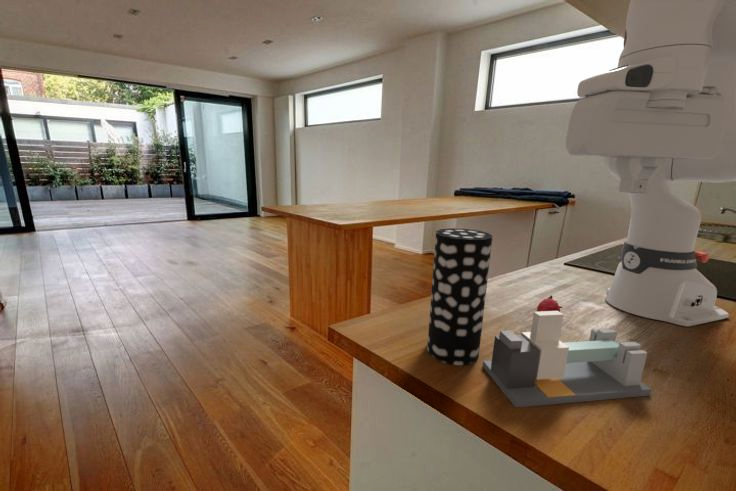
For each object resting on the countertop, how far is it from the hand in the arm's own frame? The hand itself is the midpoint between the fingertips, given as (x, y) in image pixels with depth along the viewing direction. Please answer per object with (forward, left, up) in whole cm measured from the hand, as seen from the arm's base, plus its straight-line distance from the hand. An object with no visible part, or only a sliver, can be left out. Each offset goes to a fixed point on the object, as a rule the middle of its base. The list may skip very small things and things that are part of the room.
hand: (633, 192), depth 46 cm
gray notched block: (-1, +2, -27) cm, 27 cm away
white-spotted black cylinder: (+20, -7, -27) cm, 35 cm away
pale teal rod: (+8, +2, -24) cm, 25 cm away
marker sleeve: (+11, +2, -25) cm, 27 cm away
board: (+7, +2, -27) cm, 28 cm away
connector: (+15, +2, -27) cm, 31 cm away
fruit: (-3, -16, -27) cm, 32 cm away
